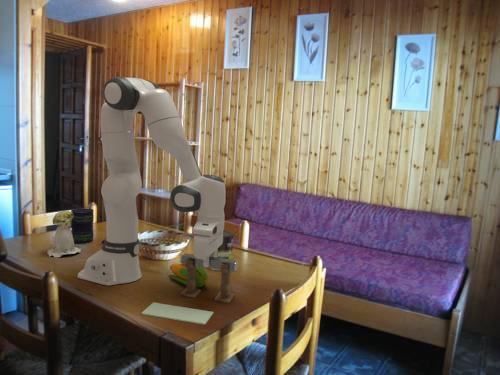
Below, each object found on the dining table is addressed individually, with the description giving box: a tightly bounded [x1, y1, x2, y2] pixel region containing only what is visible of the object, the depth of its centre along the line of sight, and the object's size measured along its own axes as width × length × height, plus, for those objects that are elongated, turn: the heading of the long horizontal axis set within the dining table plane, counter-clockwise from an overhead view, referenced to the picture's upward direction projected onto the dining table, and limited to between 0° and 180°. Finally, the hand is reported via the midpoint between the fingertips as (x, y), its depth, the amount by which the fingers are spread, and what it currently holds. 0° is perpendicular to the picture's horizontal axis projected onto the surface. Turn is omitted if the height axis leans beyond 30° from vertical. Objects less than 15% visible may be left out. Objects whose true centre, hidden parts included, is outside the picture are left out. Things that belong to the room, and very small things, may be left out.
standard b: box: [214, 264, 235, 304], centre depth 136 cm, size 5×6×12 cm
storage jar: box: [70, 207, 94, 245], centre depth 191 cm, size 10×10×15 cm
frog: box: [47, 210, 82, 258], centre depth 172 cm, size 12×13×18 cm
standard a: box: [180, 260, 202, 298], centre depth 139 cm, size 5×6×12 cm
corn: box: [169, 263, 209, 288], centre depth 148 cm, size 7×8×20 cm
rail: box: [179, 253, 239, 272], centre depth 137 cm, size 19×3×3 cm, turn 77°
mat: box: [141, 302, 214, 325], centre depth 123 cm, size 20×8×1 cm, turn 77°
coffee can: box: [208, 230, 235, 271], centre depth 167 cm, size 10×10×14 cm
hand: (208, 264), depth 137 cm, fingers closed on rail, 3 cm apart
